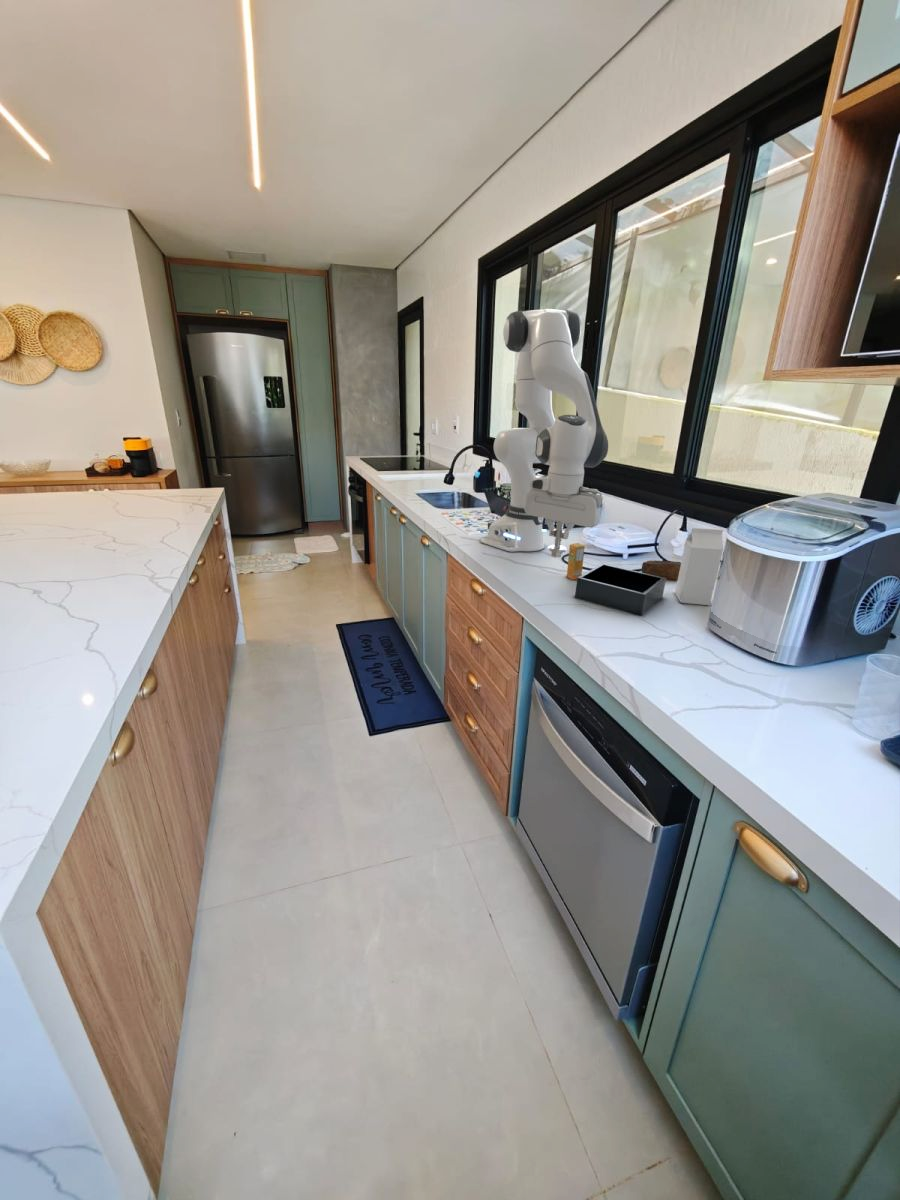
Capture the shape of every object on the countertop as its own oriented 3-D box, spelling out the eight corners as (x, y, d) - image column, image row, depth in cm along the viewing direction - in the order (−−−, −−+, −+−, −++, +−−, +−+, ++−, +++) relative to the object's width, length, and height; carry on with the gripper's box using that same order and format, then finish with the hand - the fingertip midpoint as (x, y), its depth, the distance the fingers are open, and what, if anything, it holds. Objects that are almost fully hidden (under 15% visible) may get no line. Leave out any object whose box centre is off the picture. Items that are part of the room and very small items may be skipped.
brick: (677, 576, 149) (680, 561, 147) (681, 580, 145) (684, 565, 143) (640, 573, 151) (643, 558, 149) (642, 578, 147) (645, 562, 145)
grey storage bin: (574, 597, 132) (577, 577, 130) (599, 582, 143) (602, 563, 141) (641, 616, 122) (645, 594, 120) (662, 597, 133) (666, 578, 131)
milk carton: (709, 605, 128) (727, 533, 121) (680, 603, 130) (695, 531, 122) (702, 595, 135) (718, 526, 128) (674, 593, 136) (689, 524, 129)
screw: (566, 554, 136) (564, 559, 131) (548, 552, 137) (545, 557, 133) (572, 506, 130) (570, 510, 126) (553, 504, 132) (551, 508, 127)
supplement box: (565, 576, 147) (568, 543, 143) (574, 575, 148) (578, 542, 144) (572, 580, 144) (576, 546, 140) (581, 578, 145) (586, 545, 141)
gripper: (609, 488, 123) (600, 543, 128) (536, 477, 135) (531, 527, 140) (598, 492, 118) (590, 548, 124) (523, 480, 130) (519, 532, 136)
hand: (558, 537), depth 132 cm, fingers closed on screw
